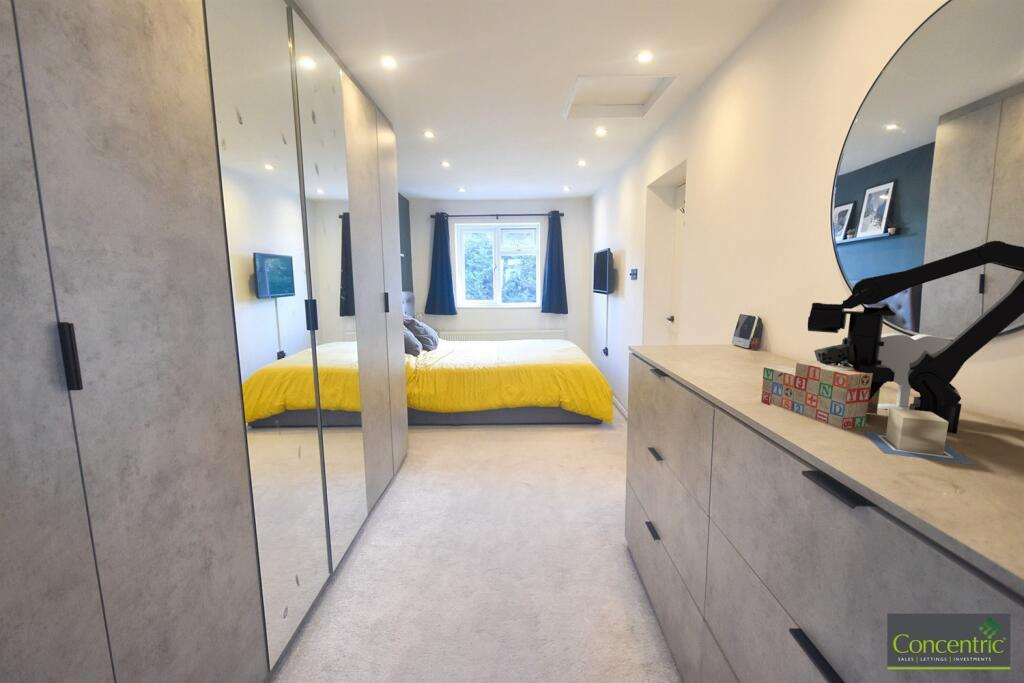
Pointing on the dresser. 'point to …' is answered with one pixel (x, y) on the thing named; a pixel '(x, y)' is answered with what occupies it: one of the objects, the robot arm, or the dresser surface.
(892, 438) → the beech block
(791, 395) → the stack of blocks
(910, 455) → the board
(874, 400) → the walnut block
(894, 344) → the heart sculpture
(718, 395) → the dresser surface
